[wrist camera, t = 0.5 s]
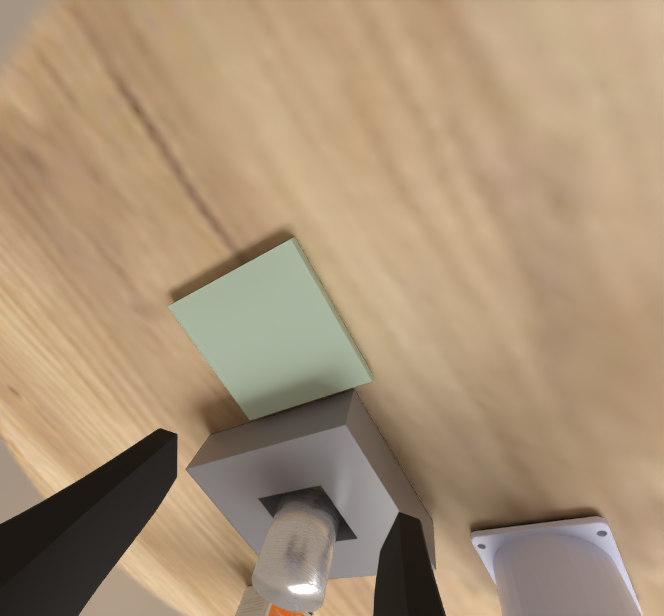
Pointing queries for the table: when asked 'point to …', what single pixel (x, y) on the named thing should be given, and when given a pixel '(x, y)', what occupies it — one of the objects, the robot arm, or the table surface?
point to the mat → (272, 333)
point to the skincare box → (261, 606)
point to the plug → (298, 551)
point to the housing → (312, 477)
